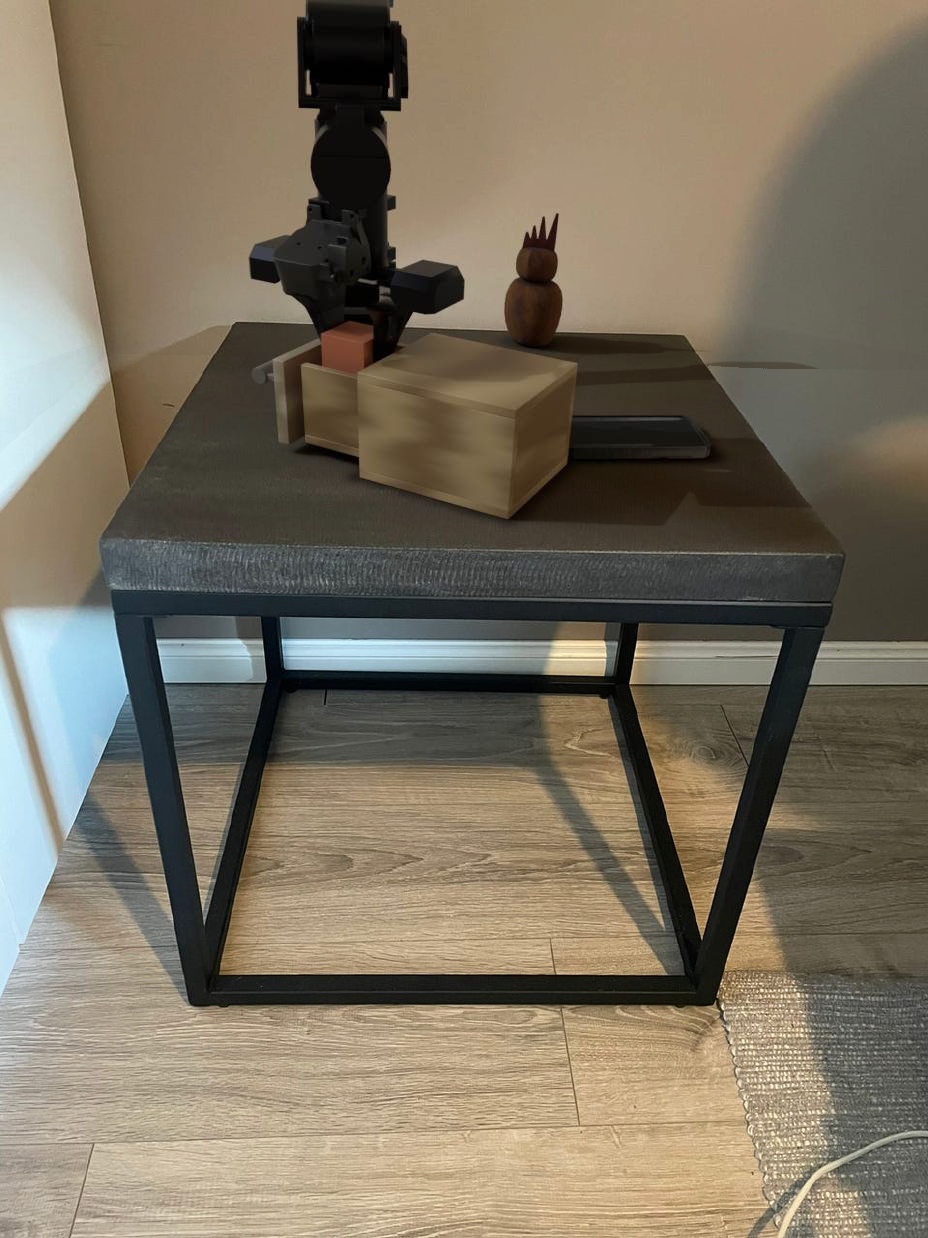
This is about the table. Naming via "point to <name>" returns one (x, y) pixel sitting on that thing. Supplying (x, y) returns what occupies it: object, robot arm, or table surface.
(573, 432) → the phone
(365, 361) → the block
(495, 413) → the cabinet
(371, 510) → the table surface
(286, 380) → the drawer
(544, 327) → the wooden figurine
